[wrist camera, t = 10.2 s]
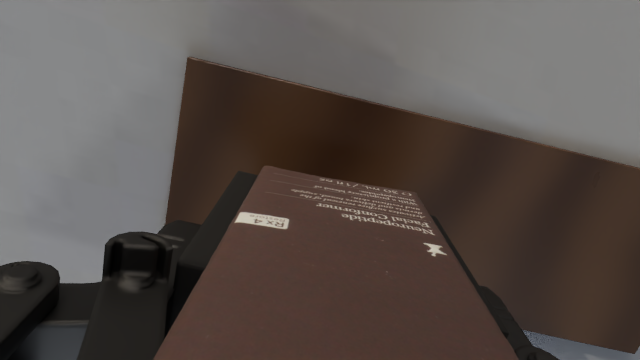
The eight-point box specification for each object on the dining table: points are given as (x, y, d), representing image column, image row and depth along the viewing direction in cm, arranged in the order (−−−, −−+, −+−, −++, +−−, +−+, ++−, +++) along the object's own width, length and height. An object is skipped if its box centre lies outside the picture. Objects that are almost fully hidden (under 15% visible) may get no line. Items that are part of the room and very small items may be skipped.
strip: (724, 188, 18) (732, 192, 18) (629, 348, 21) (634, 354, 21) (190, 56, 17) (187, 56, 17) (164, 247, 20) (161, 251, 19)
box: (419, 181, 15) (696, 597, 4) (390, 285, 17) (530, 811, 5) (258, 152, 15) (48, 507, 4) (242, 259, 16) (55, 759, 5)
